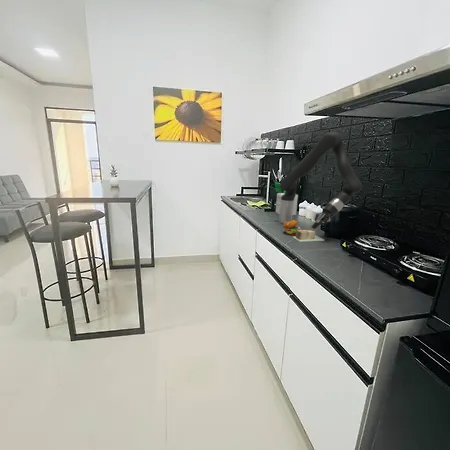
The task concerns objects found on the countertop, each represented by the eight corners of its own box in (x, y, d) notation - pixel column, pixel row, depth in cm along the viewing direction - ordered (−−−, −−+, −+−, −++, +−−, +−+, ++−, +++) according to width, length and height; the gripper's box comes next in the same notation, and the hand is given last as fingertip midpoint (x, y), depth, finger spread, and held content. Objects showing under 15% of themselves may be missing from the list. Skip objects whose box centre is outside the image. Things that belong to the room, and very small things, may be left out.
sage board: (315, 236, 157) (316, 235, 157) (324, 240, 148) (324, 239, 148) (292, 237, 153) (292, 236, 153) (300, 242, 145) (300, 241, 145)
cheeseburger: (302, 236, 155) (300, 221, 153) (285, 239, 158) (282, 223, 156) (301, 231, 165) (298, 217, 163) (284, 234, 168) (282, 220, 165)
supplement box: (288, 211, 229) (289, 192, 224) (296, 215, 217) (298, 194, 212) (275, 212, 225) (276, 193, 220) (282, 215, 213) (284, 195, 208)
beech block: (310, 236, 153) (295, 237, 151) (311, 229, 152) (296, 230, 150) (314, 239, 149) (299, 239, 147) (315, 231, 148) (300, 232, 146)
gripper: (323, 201, 154) (303, 221, 154) (337, 205, 142) (315, 226, 142) (330, 209, 157) (310, 229, 157) (344, 214, 144) (322, 235, 145)
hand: (312, 228), depth 149 cm, fingers closed
